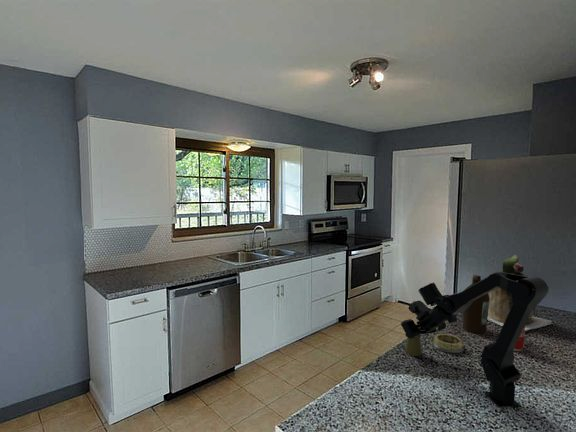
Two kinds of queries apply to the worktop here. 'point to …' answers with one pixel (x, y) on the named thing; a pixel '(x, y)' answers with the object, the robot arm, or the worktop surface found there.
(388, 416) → the worktop surface
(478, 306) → the olive oil
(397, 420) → the worktop surface
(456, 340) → the collar socket
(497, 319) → the cookie jar
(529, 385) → the worktop surface
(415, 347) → the cork
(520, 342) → the beverage can
